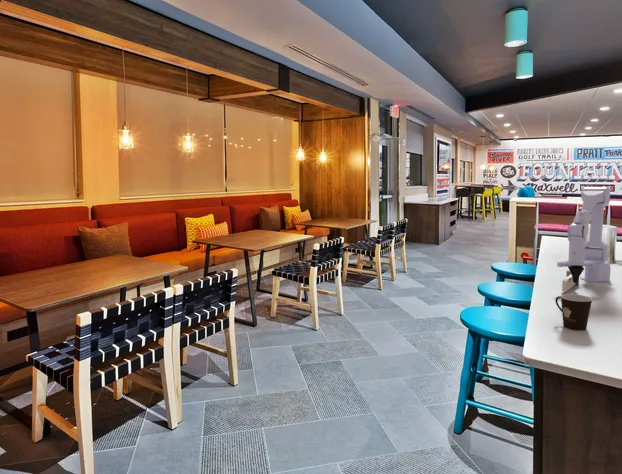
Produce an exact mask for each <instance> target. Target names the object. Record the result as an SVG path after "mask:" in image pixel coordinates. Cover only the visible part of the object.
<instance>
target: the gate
mask: <svg viewBox="0 0 622 474" xmlns="http://www.w3.org/2000/svg"><path fill="white" fill-rule="evenodd" d="M561 283H562V284H561V292H565V293H566V292H568V290H569V289H570V288H572V287H573V286H576V285H575V284H576V283H574V282H573V278H572V274H571V275H569V276H568V277H566V276H565V278H563V279H562V281H561Z"/></svg>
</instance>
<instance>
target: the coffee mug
mask: <svg viewBox="0 0 622 474" xmlns="http://www.w3.org/2000/svg"><path fill="white" fill-rule="evenodd" d="M559 299H560V301H561V302H560V303H561V306H560V305H559V303H558V300H559ZM592 302H593V298H592V297H589V296H587V295H583V294H576V293H568V294H567V293H566V294H561V295H560V296H557V297H555V304H556V306H557V308H558V309H559V310H560V312H561V313H562V314H561V315H562V325H563V328H565V329H567V330H570V331H571V330H572V331H578V332H579V331H580V332H581V331H585V330H587V327H588V323H589V316H590V313H591V312H590V311H591V306H592Z"/></svg>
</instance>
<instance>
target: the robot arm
mask: <svg viewBox="0 0 622 474" xmlns="http://www.w3.org/2000/svg"><path fill="white" fill-rule="evenodd" d="M610 190H611V189H610V187H608V186H603V187H599V186H598V187H594V186H593V187H586V186H584V187H583V188H582V189H581V192H580V196H581V197H580V198H581V200H582V206H581V209H580V210H579V211H577V212H576V214H575V216H574V219H573V222H572V223H571V224H569V225H568V226H567V240H568V243H569V245H568V260H563V261H557V262H556V266H557V267H559V268H562V267H563V268H564V267H565V268H566V267H568V270H570V272H571V274H572V278H573V282H574V283H578V279H579V280H580V279H582V280H584V281H586V282H588V283H602V282H603V283H606V282H607V283H608V282H609V283H610V282H611V265H610V263H609V262H608V260H609V257H610V250H609V248H610V247H609V245H608V244H607V243H605V242H604V241H603V227H604V213H605V207H606V206H608V205H609V204H610V199H611V191H610ZM589 225H590V226H589ZM588 234H589V240H588V241H586V238H587V236H588ZM583 271H584V276H581V275H582V273H583Z"/></svg>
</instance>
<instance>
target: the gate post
mask: <svg viewBox="0 0 622 474" xmlns="http://www.w3.org/2000/svg"><path fill="white" fill-rule="evenodd" d="M569 275H571V272H570V270H569V269H568V270H566V275H565V278H566V277H568V276H569ZM579 284H580V278H579V279H578V283H576V284H575V285H574V286H579Z"/></svg>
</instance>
